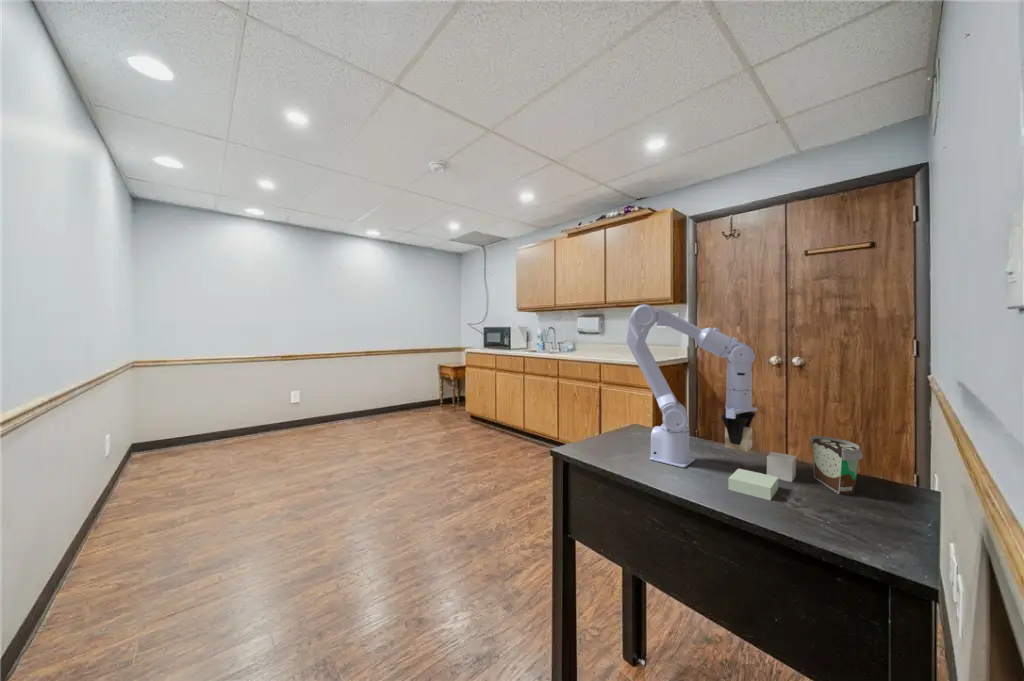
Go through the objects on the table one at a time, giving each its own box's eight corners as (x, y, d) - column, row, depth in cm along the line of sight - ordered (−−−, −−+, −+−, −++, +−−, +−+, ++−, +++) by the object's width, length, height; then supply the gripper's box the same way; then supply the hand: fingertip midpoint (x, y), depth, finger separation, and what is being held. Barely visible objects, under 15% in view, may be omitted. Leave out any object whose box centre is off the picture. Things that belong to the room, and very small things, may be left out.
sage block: (728, 491, 86) (728, 478, 85) (738, 480, 91) (738, 468, 91) (770, 502, 80) (770, 488, 80) (778, 490, 86) (778, 477, 85)
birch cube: (724, 447, 98) (725, 428, 98) (730, 442, 102) (730, 424, 101) (746, 451, 95) (747, 431, 94) (752, 446, 98) (752, 427, 98)
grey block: (766, 476, 93) (766, 456, 92) (771, 471, 96) (771, 451, 96) (791, 482, 89) (792, 461, 89) (795, 476, 93) (795, 456, 92)
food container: (877, 499, 80) (878, 452, 79) (843, 497, 81) (844, 451, 80) (839, 476, 92) (839, 436, 91) (810, 475, 93) (810, 434, 93)
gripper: (749, 394, 90) (748, 451, 90) (763, 387, 100) (763, 438, 100) (716, 391, 95) (716, 445, 95) (733, 384, 105) (733, 433, 105)
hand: (738, 441), depth 98 cm, fingers closed on birch cube, 5 cm apart
